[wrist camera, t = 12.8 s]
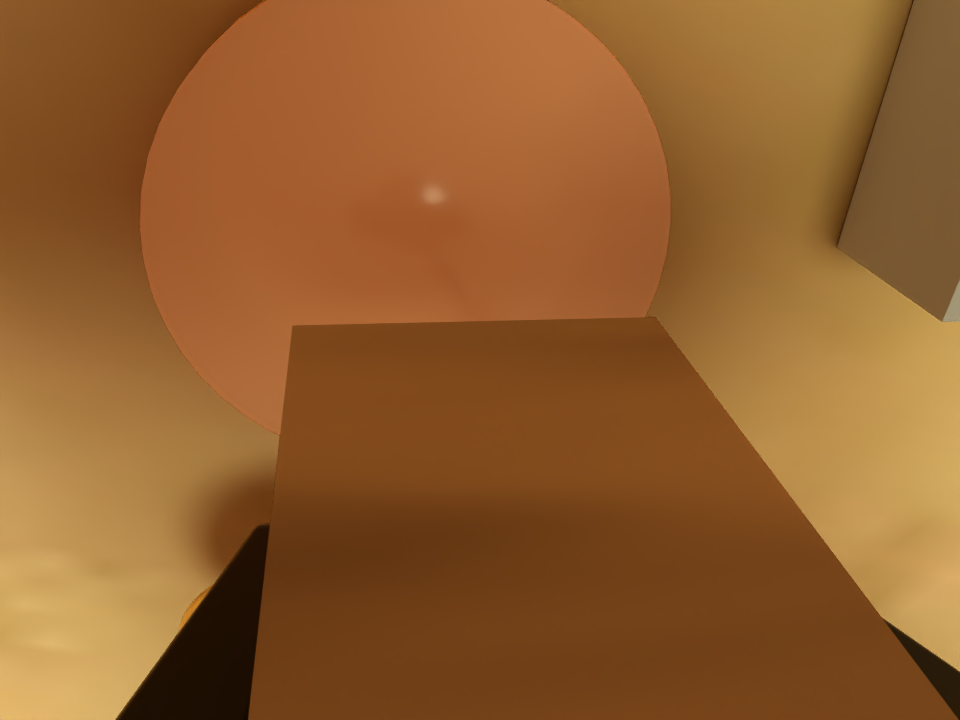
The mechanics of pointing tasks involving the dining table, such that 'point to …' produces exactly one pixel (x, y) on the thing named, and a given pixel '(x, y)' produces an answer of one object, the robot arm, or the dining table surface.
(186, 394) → the dining table surface
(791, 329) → the dining table surface
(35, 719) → the dining table surface
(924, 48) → the collar
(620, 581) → the block
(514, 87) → the dish
